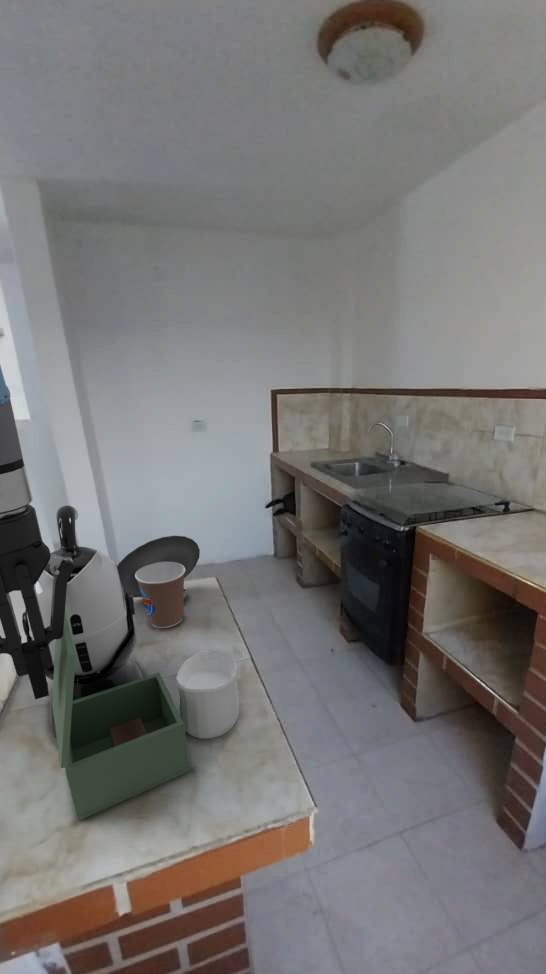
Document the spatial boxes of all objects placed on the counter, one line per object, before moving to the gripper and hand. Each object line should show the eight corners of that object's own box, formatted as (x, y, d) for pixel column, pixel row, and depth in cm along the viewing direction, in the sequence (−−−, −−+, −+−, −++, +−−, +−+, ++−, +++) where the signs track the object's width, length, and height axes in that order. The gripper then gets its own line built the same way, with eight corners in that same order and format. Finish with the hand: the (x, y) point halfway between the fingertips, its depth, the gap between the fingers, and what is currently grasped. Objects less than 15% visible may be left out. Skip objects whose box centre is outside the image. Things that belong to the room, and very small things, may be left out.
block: (119, 773, 64) (114, 749, 62) (113, 751, 67) (108, 728, 66) (151, 759, 66) (147, 736, 64) (144, 739, 70) (140, 717, 68)
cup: (187, 749, 69) (181, 698, 65) (175, 706, 77) (169, 658, 74) (248, 730, 72) (245, 680, 69) (230, 690, 81) (227, 644, 77)
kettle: (51, 665, 87) (10, 505, 75) (137, 644, 93) (113, 494, 81) (44, 760, 67) (-13, 562, 55) (155, 726, 73) (127, 541, 61)
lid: (64, 605, 61) (57, 605, 60) (75, 654, 51) (67, 655, 50) (58, 703, 65) (52, 704, 65) (68, 767, 55) (60, 768, 55)
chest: (165, 715, 75) (159, 672, 72) (190, 771, 65) (184, 723, 62) (67, 752, 68) (55, 706, 65) (78, 821, 58) (65, 770, 55)
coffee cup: (138, 614, 104) (131, 566, 99) (184, 604, 108) (179, 557, 104) (146, 637, 95) (138, 586, 91) (195, 625, 100) (190, 576, 95)
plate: (168, 528, 95) (164, 522, 96) (93, 591, 96) (90, 584, 97) (217, 557, 114) (214, 551, 115) (154, 609, 115) (151, 603, 116)
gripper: (-93, 532, 42) (-24, 731, 51) (65, 509, 48) (102, 690, 57) (-81, 510, 48) (-20, 691, 56) (59, 492, 54) (93, 658, 63)
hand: (41, 690), depth 57 cm, fingers closed
